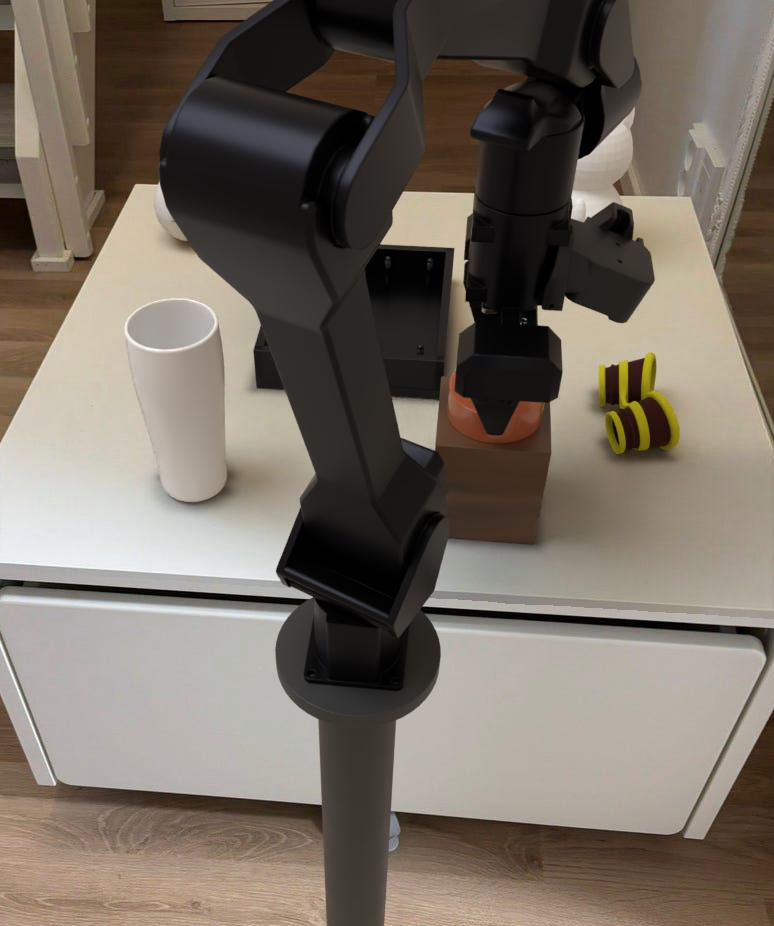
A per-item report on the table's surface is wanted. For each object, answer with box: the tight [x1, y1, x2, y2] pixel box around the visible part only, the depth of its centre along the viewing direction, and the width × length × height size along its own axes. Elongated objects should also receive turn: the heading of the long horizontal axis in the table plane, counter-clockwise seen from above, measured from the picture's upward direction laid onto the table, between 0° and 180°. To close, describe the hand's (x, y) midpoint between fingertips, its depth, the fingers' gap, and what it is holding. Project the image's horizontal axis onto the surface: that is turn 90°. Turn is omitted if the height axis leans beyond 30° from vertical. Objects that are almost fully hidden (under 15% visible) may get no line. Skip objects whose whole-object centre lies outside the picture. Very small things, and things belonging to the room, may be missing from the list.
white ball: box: [153, 181, 188, 242], centre depth 106 cm, size 10×7×7 cm
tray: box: [252, 243, 455, 400], centre depth 94 cm, size 18×16×4 cm
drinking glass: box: [123, 297, 228, 503], centre depth 77 cm, size 7×7×15 cm
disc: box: [447, 370, 545, 444], centre depth 73 cm, size 7×7×2 cm
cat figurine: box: [571, 106, 636, 222], centre depth 98 cm, size 9×12×15 cm
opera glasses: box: [598, 352, 681, 455], centre depth 85 cm, size 10×5×5 cm, turn 179°
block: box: [434, 376, 553, 545], centre depth 77 cm, size 8×8×9 cm
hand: (495, 402), depth 73 cm, fingers closed on disc, 7 cm apart
